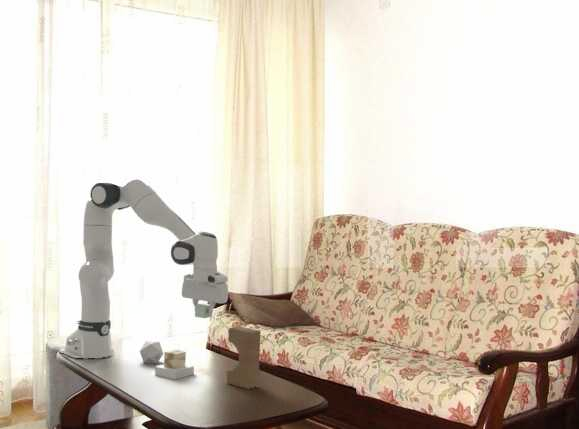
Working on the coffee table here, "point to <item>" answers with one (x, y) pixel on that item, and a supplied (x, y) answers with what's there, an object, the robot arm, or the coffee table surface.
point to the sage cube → (202, 310)
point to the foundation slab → (174, 371)
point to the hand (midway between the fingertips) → (203, 312)
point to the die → (151, 352)
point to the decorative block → (245, 357)
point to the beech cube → (174, 359)
